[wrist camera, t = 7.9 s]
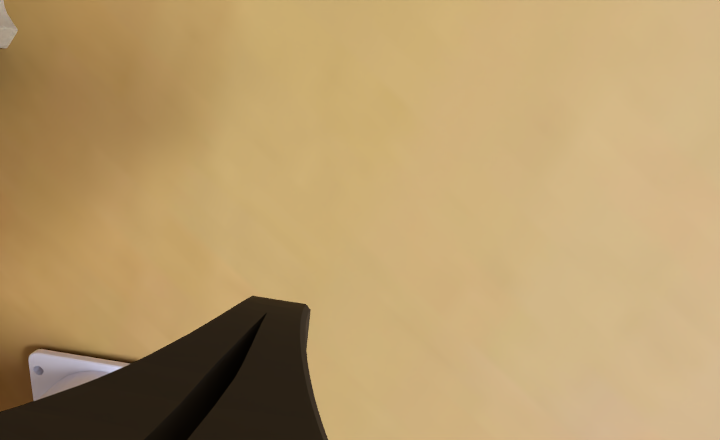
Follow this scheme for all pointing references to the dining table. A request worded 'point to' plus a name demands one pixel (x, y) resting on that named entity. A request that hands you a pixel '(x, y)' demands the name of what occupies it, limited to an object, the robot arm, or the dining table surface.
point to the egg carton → (6, 27)
